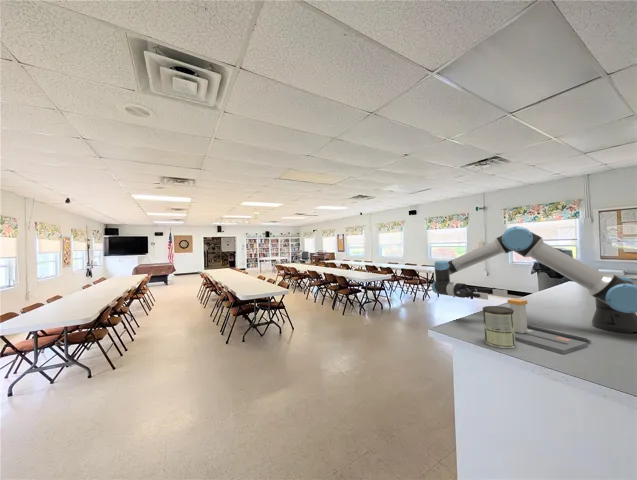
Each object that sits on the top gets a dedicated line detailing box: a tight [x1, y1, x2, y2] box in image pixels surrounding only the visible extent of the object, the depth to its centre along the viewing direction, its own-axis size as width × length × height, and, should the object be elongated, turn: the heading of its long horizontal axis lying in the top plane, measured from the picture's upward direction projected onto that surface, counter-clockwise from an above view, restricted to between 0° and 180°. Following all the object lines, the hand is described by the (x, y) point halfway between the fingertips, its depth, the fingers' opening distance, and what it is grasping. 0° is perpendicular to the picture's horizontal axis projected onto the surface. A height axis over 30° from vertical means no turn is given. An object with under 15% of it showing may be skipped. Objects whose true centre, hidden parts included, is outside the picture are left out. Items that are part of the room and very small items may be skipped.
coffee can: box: [482, 305, 517, 349], centre depth 104 cm, size 10×10×14 cm
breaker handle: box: [507, 298, 528, 333], centre depth 112 cm, size 5×5×14 cm
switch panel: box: [515, 329, 589, 355], centre depth 106 cm, size 26×16×2 cm, turn 22°
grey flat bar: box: [527, 324, 592, 344], centre depth 110 cm, size 23×4×2 cm, turn 22°
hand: (497, 295), depth 120 cm, fingers open, 13 cm apart
